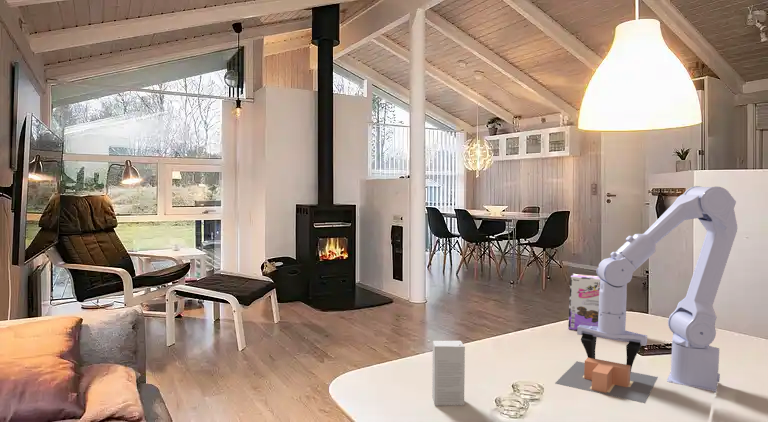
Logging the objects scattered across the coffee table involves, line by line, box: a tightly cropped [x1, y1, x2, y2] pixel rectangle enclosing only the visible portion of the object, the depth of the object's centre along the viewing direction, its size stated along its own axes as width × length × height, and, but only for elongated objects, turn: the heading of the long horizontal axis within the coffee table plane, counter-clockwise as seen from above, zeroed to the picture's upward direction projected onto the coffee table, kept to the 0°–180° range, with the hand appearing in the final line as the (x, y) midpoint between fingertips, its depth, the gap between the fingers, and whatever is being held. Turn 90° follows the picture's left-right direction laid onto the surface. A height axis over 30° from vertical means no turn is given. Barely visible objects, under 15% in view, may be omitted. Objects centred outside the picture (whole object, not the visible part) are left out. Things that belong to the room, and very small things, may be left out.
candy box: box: [567, 273, 600, 331], centre depth 164 cm, size 14×6×16 cm, turn 62°
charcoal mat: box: [554, 361, 658, 404], centre depth 121 cm, size 18×18×1 cm
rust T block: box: [584, 357, 632, 393], centre depth 118 cm, size 9×9×4 cm
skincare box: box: [431, 340, 466, 407], centre depth 109 cm, size 6×4×12 cm
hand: (609, 370), depth 123 cm, fingers open, 7 cm apart
